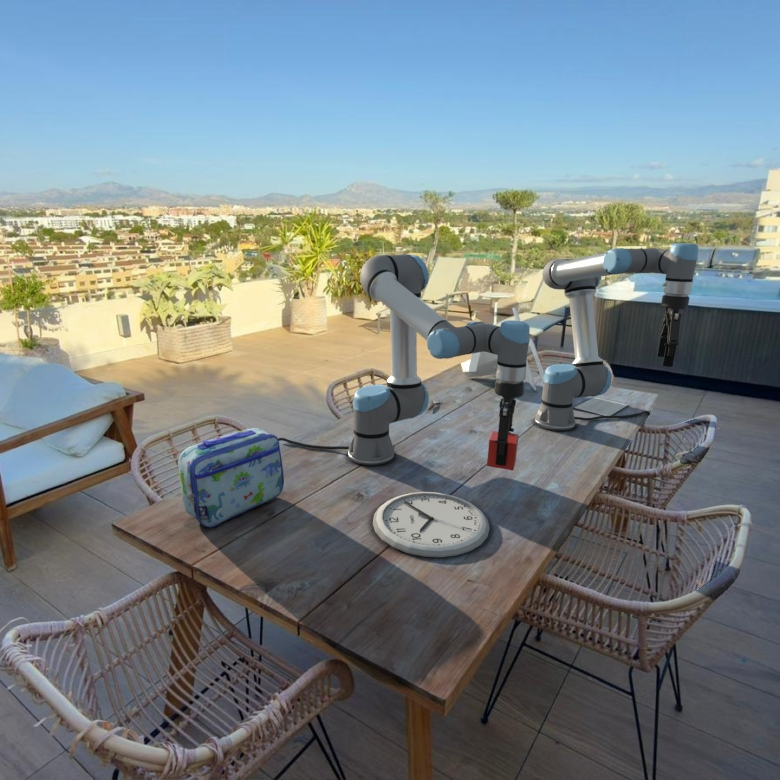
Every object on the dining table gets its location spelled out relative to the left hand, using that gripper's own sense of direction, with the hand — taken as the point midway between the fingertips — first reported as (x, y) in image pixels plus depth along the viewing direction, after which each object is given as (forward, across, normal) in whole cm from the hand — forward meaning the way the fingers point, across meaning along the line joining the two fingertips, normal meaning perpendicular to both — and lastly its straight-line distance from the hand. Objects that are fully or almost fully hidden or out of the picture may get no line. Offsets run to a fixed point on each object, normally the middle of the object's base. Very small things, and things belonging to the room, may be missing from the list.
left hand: (502, 458), depth 145 cm
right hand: (-21, -47, +44) cm, 68 cm away
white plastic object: (+13, -114, -14) cm, 115 cm away
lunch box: (+12, +32, -66) cm, 74 cm away
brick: (+1, 0, 0) cm, 1 cm away
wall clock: (+12, +20, -15) cm, 28 cm away
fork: (+13, -70, -36) cm, 80 cm away
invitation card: (+12, -96, +32) cm, 101 cm away
